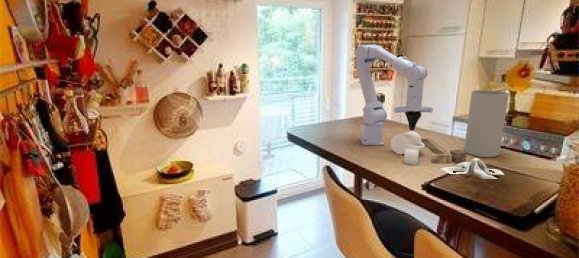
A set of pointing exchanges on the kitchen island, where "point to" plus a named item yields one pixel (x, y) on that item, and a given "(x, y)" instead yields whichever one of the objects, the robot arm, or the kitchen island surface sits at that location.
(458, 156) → the walnut block
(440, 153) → the dock
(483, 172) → the cloth
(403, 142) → the mug
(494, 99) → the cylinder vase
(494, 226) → the kitchen island surface
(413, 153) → the small white cylinder
